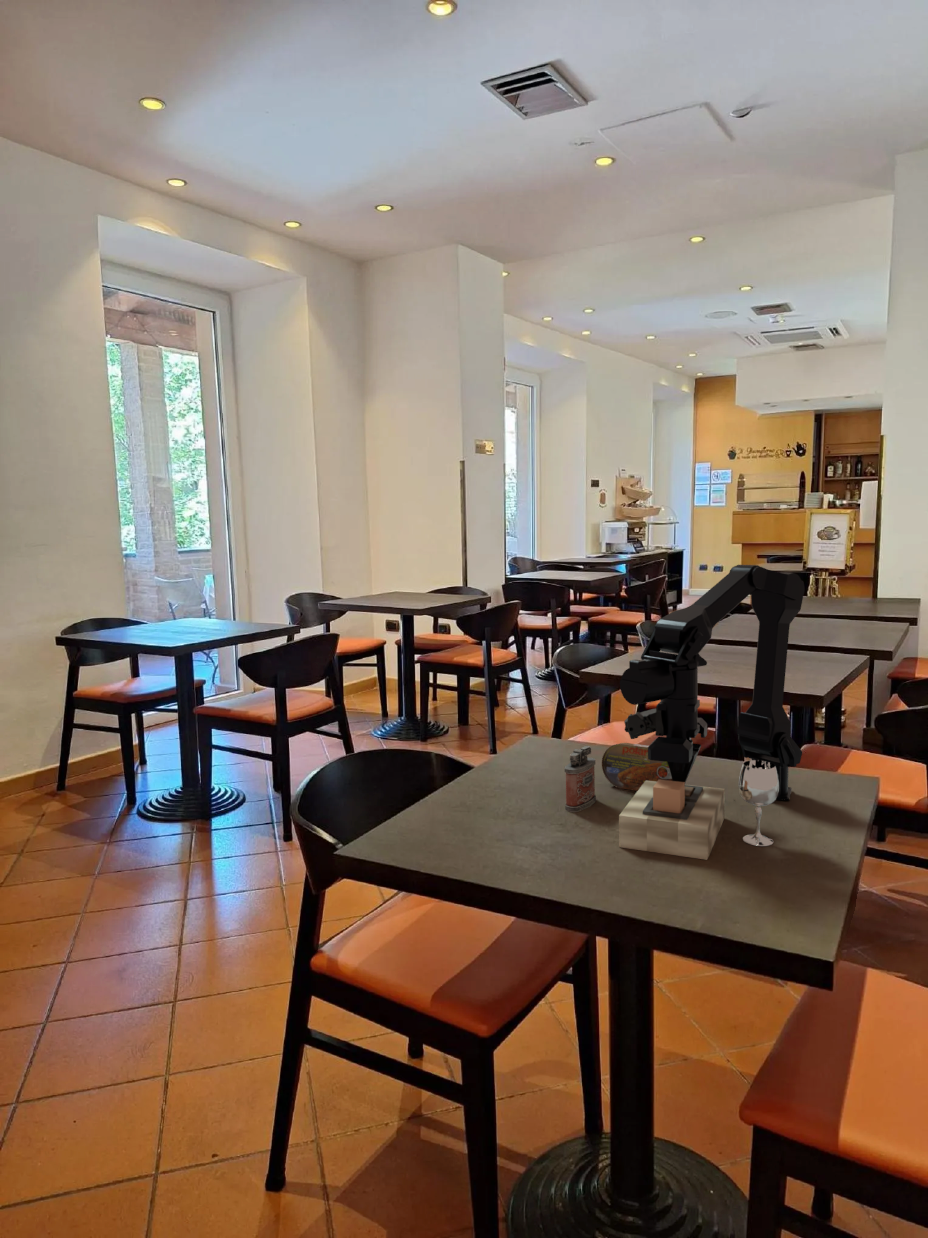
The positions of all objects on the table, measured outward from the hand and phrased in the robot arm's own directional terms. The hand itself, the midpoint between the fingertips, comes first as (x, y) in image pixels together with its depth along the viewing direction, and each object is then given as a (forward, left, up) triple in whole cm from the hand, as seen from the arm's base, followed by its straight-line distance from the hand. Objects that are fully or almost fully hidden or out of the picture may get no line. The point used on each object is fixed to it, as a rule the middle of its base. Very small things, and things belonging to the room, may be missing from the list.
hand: (678, 790), depth 132 cm
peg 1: (+8, 0, -2) cm, 8 cm away
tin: (-15, -10, -6) cm, 19 cm away
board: (+4, 0, -6) cm, 7 cm away
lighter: (-3, -18, -6) cm, 19 cm away
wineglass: (+3, +12, -6) cm, 14 cm away
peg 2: (0, 0, -6) cm, 6 cm away
